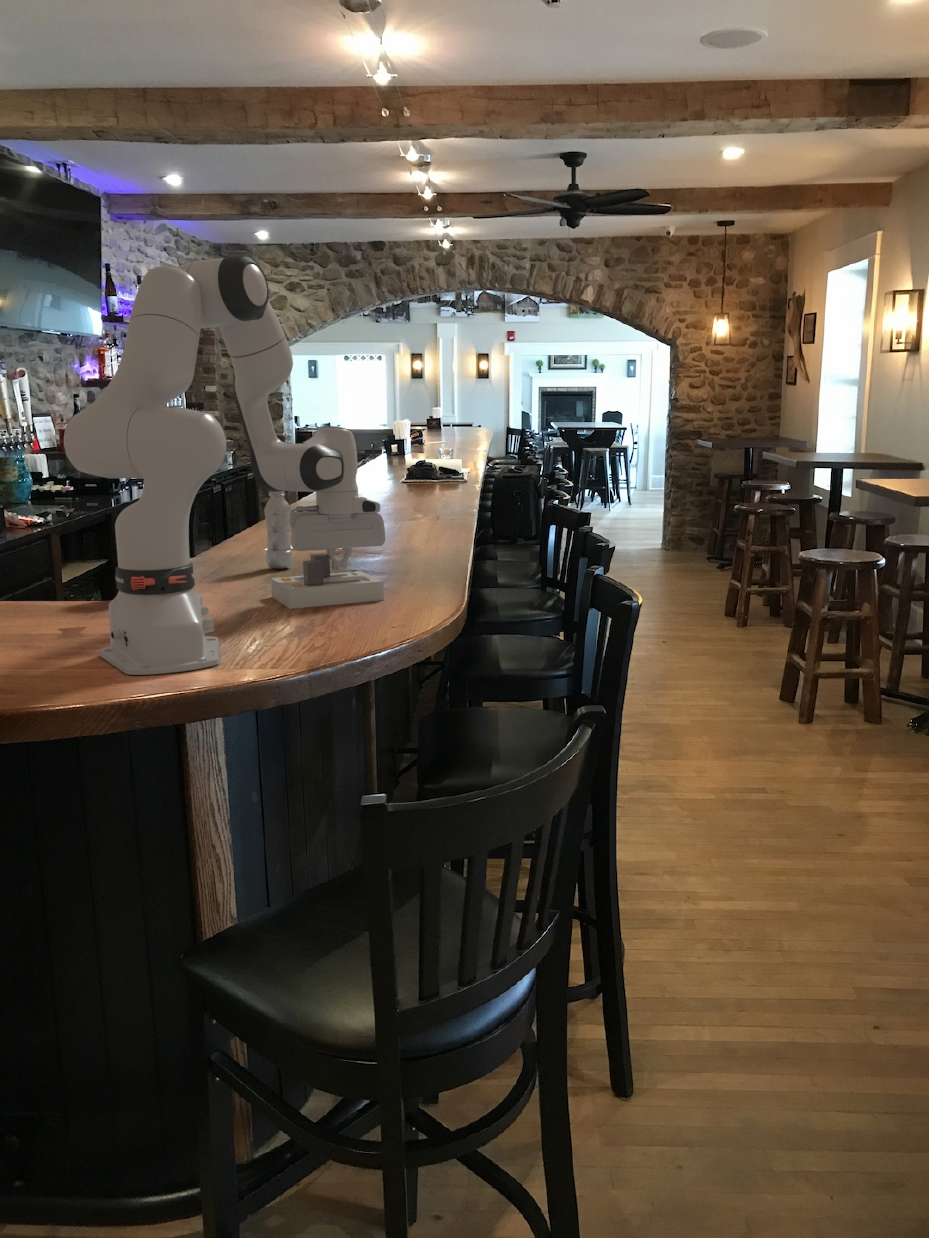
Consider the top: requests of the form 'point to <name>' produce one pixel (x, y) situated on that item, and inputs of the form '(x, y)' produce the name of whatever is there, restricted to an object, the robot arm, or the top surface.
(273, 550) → the plastic bottle
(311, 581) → the near tab
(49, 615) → the top surface
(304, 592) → the switch housing
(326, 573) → the far tab
